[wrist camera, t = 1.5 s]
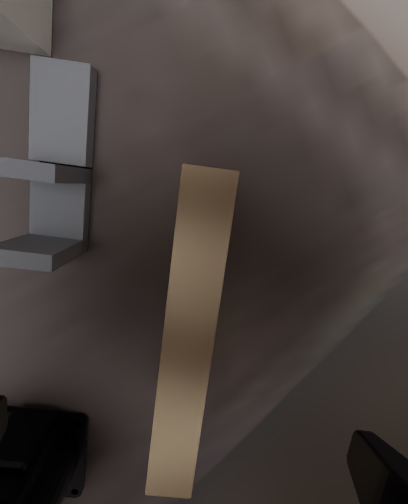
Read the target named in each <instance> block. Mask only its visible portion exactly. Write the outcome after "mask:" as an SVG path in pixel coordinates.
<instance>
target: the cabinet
mask: <svg viewBox="0 0 408 504" xmlns="http://www.w3.org/2000/svg"><path fill="white" fill-rule="evenodd" d="M52 11H53V0H0V49H3V50H9V51H16V52H22V53H29V54H35V55H42V56H48V57H51V46H52ZM35 55H30V105H29V159H31V160H38V161H45V162H53V163H60V164H68V165H75V166H82V167H90V168H92V162H93V144H94V127H95V109H96V92H97V74H98V72H97V71H96V70H95V68H94V67H93V66H92V65H91V64H88V63H81V62H74V61H68V60H61V59H55V58H48V57H42V56H35ZM0 176H1V177H9V178H17V179H24V180H30V214H29V234H26V235H23V236H20V237H16V238H13V239H10V240H6V241H3V242H0V267H9V268H18V269H26V270H35V271H44V272H53V271H55V270H56V269H58V268H59V267H61V266H63V265H64V264H66V263H68V262H69V261H71V260H72V259H74V258H76V257H77V256H79V255H80V254H82V253H84V252H85V251H87V250H88V233H89V215H90V197H91V180H92V169H84V168H77V167H70V166H63V165H56V164H49V163H41V162H34V161H26V160H19V159H12V158H4V157H0Z"/></svg>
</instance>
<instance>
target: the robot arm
mask: <svg viewBox="0 0 408 504" xmlns="http://www.w3.org/2000/svg"><path fill="white" fill-rule="evenodd" d="M78 421H79V422H81V424H80V423H78ZM87 431H88V418H87V417H86V416H85V415H83V414H76V413H65V412H54V411H42V410H31V409H20V408H9V407H7V398H6V397H5V396H4V395H0V504H61V503H62V501H63V498H64V497H72V498H77V497H79V496H80V495H81V494H82V491H83V488H84V477H85V462H86V446H87ZM347 464H348V468H349V471H350V474H351V477H352V480H353V484H354V487H355V490H356V493H357V497H358V500H359V503H360V504H408V459H407V458H406V457H404V456H403V455H402V454H400V453H399V452H398V451H397V450H395V449H394V448H393V447H391V446H390V445H389V444H388V443H386V442H385V441H384V440H382V439H381V438H380V437H378V436H377V435H376V434H374V433H373V432H371V431H365V430H355V431H354V433H353V435H352V439H351V442H350V446H349V450H348V453H347ZM76 489H77V490H76Z"/></svg>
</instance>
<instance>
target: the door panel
mask: <svg viewBox="0 0 408 504" xmlns="http://www.w3.org/2000/svg"><path fill="white" fill-rule="evenodd" d="M239 173H240V171H234V170H227V169H220V168H212V167H205V166H198V165H191V164H183V163H182V171H181V179H180V188H179V197H178V206H177V215H176V224H175V233H174V242H173V250H172V259H171V268H170V277H169V286H168V295H167V304H166V312H165V321H164V330H163V339H162V348H161V357H160V366H159V375H158V383H157V392H156V401H155V410H154V419H153V428H152V437H151V445H150V454H149V463H148V472H147V481H146V490H145V495H151V496H164V497H176V498H191V493H192V487H193V480H194V473H195V467H196V460H197V453H198V447H199V440H200V433H201V427H202V420H203V413H204V407H205V400H206V393H207V387H208V380H209V373H210V366H211V360H212V353H213V346H214V340H215V333H216V326H217V320H218V313H219V306H220V300H221V293H222V286H223V280H224V273H225V266H226V259H227V253H228V246H229V239H230V233H231V226H232V219H233V213H234V206H235V199H236V193H237V186H238V179H239Z"/></svg>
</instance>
